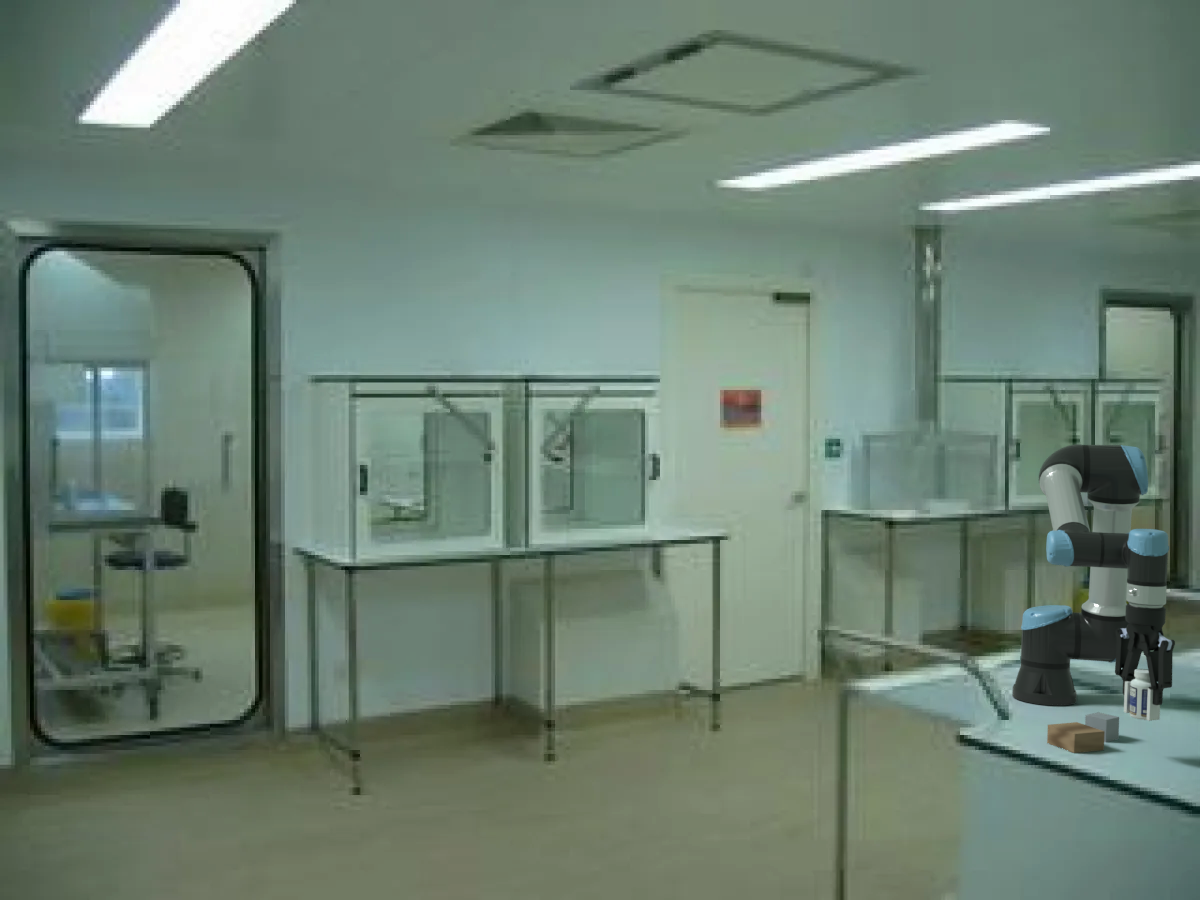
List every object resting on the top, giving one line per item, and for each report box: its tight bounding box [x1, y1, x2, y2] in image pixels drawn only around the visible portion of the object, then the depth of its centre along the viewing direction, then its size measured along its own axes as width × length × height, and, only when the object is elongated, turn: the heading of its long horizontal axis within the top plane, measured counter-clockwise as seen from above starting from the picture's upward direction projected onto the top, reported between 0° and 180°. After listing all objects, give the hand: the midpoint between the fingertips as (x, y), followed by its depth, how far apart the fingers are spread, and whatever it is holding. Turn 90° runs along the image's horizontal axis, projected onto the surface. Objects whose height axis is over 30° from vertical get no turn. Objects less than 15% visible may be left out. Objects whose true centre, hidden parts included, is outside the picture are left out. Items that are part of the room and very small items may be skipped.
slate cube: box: [1084, 711, 1120, 743], centre depth 265 cm, size 5×5×5 cm
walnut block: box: [1046, 721, 1105, 754], centre depth 257 cm, size 8×8×4 cm
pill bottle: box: [1129, 668, 1151, 721], centre depth 249 cm, size 5×5×10 cm
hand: (1141, 715), depth 249 cm, fingers closed on pill bottle, 5 cm apart
